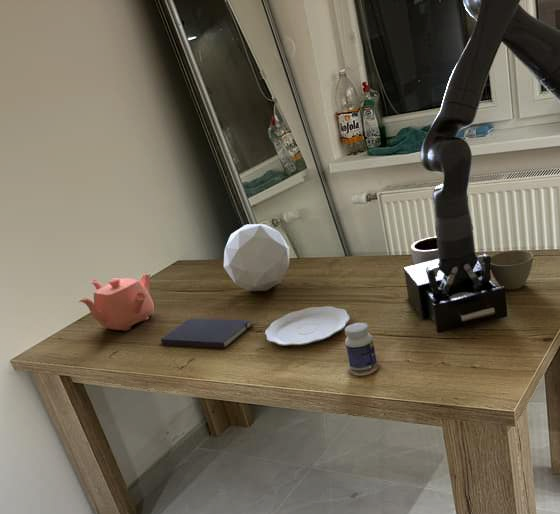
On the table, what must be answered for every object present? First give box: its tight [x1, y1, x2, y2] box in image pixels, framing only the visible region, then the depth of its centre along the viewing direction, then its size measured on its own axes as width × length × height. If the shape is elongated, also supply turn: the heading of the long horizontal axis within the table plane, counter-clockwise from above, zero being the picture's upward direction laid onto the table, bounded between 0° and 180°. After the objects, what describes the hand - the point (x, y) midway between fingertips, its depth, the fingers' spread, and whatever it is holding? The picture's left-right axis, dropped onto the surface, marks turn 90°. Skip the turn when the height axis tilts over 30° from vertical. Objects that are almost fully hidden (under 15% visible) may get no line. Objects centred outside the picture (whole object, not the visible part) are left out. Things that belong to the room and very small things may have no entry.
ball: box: [223, 223, 290, 292], centre depth 198 cm, size 19×20×20 cm
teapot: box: [77, 273, 155, 332], centre depth 199 cm, size 18×18×14 cm
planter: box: [410, 236, 439, 265], centre depth 175 cm, size 11×11×10 cm
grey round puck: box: [449, 292, 473, 299], centre depth 151 cm, size 6×6×2 cm
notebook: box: [160, 317, 252, 349], centre depth 179 cm, size 13×2×21 cm
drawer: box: [422, 274, 508, 334], centre depth 149 cm, size 17×15×7 cm
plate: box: [264, 305, 351, 346], centre depth 167 cm, size 21×21×2 cm
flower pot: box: [490, 249, 534, 291], centre depth 161 cm, size 10×10×7 cm
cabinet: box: [403, 259, 492, 321], centre depth 161 cm, size 14×17×9 cm
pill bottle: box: [344, 322, 378, 377], centre depth 141 cm, size 6×6×10 cm
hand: (462, 305), depth 152 cm, fingers closed on grey round puck, 6 cm apart
